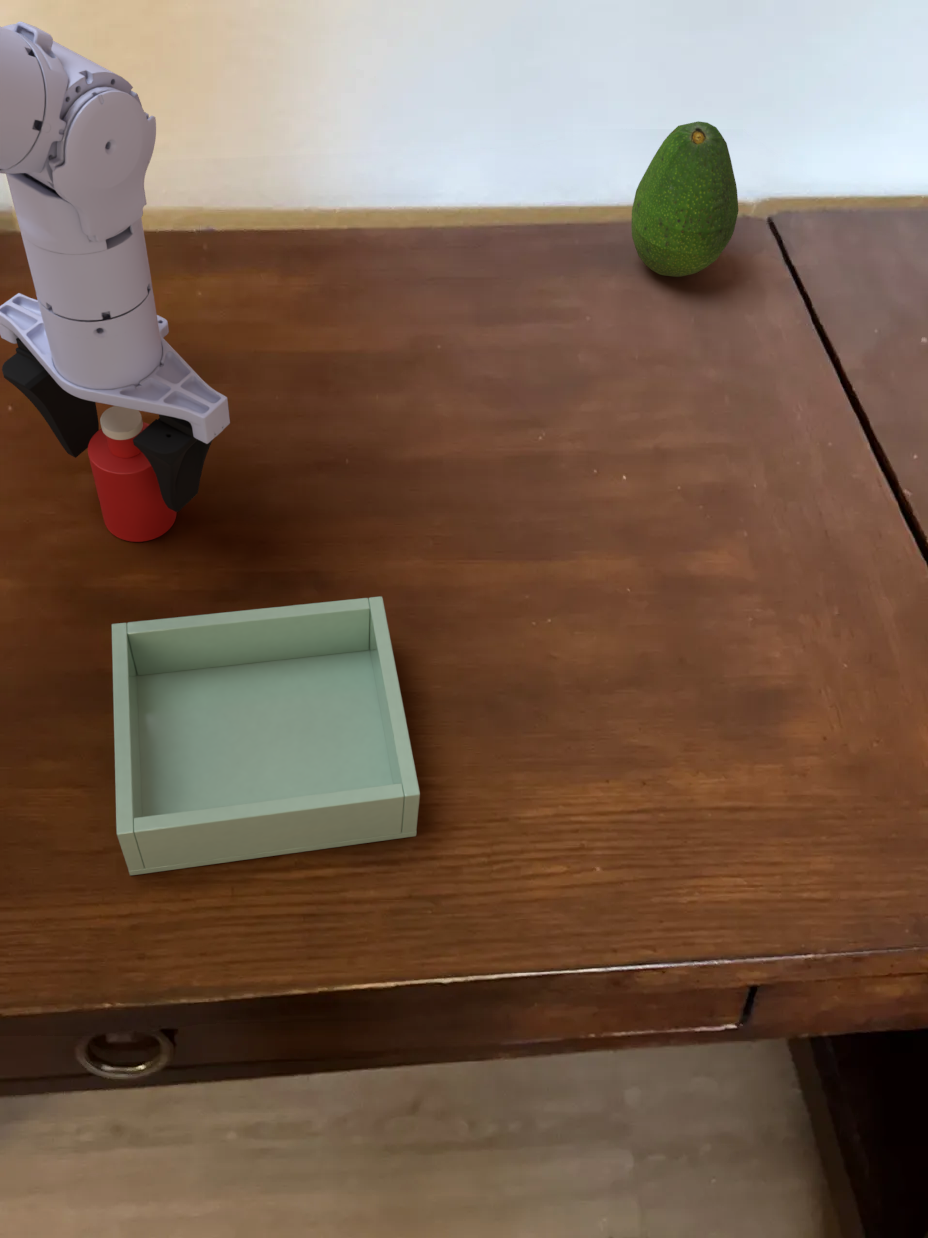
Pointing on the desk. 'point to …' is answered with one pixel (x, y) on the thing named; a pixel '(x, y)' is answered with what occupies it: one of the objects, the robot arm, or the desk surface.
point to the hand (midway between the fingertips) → (132, 472)
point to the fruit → (685, 202)
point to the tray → (259, 735)
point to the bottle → (127, 479)
